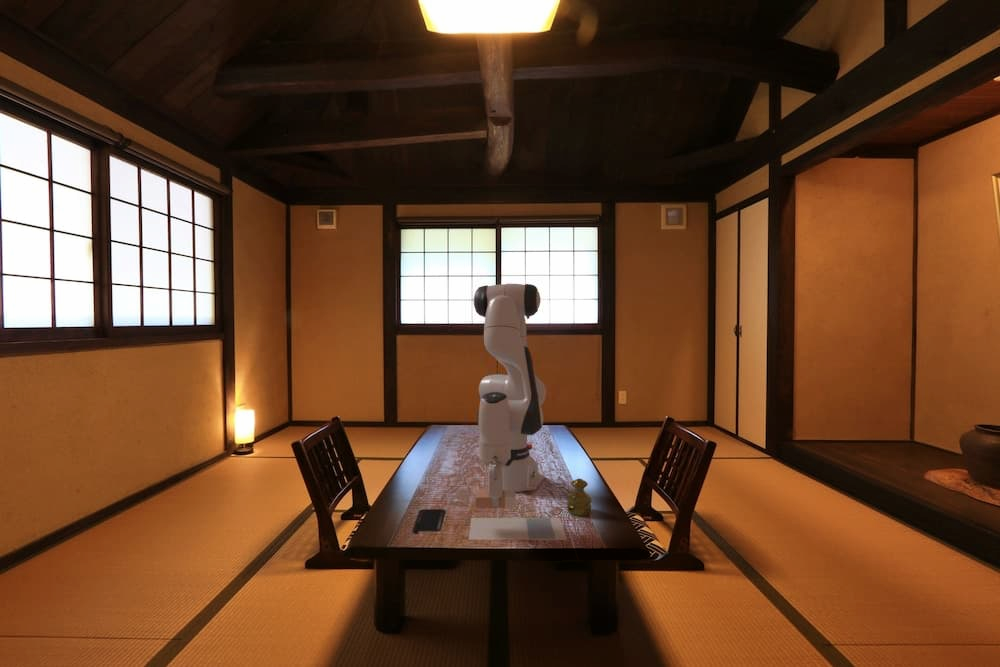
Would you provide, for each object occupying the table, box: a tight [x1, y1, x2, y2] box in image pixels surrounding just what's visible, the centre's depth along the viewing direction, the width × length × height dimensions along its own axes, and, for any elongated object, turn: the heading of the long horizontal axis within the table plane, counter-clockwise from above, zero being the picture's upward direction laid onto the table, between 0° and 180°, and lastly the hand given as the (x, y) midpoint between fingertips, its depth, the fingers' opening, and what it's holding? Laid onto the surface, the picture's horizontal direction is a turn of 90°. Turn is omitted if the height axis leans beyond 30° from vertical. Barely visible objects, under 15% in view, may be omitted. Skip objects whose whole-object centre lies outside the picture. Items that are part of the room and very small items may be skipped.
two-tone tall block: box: [475, 490, 517, 509], centre depth 137 cm, size 11×5×3 cm, turn 91°
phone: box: [411, 508, 446, 534], centre depth 142 cm, size 8×1×15 cm
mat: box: [468, 517, 568, 541], centre depth 137 cm, size 14×26×1 cm, turn 90°
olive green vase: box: [566, 478, 593, 517], centre depth 150 cm, size 7×7×10 cm
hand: (495, 500), depth 137 cm, fingers closed on two-tone tall block, 5 cm apart
